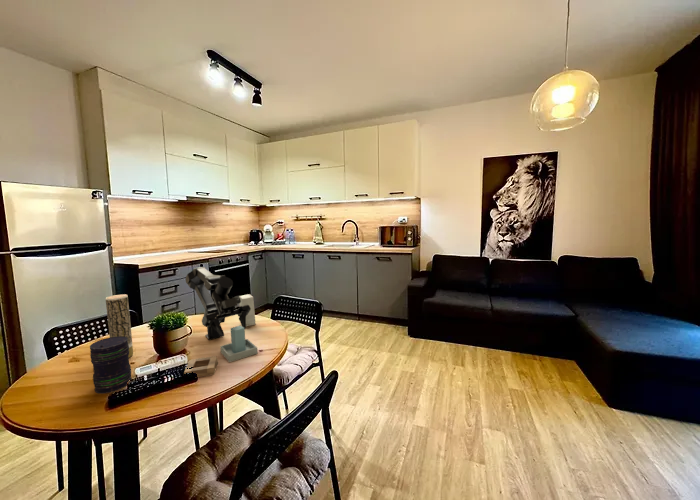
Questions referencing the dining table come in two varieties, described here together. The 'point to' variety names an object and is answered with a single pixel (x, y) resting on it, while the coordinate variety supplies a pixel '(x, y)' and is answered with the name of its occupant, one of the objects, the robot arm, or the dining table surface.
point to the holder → (202, 366)
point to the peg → (238, 339)
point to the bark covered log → (119, 318)
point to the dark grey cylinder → (110, 364)
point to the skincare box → (249, 301)
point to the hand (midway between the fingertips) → (234, 332)
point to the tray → (231, 356)
